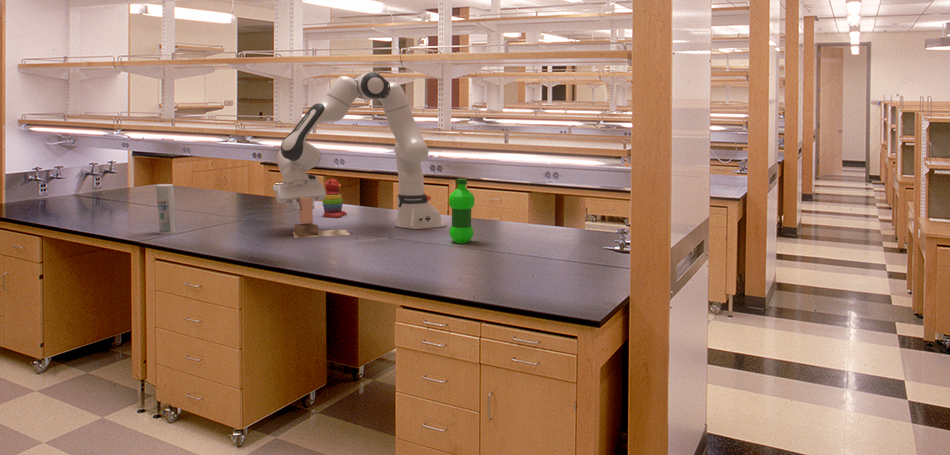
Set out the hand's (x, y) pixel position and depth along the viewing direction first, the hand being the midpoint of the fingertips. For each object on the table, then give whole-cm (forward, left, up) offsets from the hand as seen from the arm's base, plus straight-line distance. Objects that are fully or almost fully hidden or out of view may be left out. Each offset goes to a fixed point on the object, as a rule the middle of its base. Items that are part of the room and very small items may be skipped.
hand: (306, 208), depth 283 cm
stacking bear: (-17, -51, -12) cm, 55 cm away
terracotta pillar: (0, -1, -6) cm, 6 cm away
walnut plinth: (0, -1, -11) cm, 11 cm away
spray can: (+54, -26, -12) cm, 61 cm away
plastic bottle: (-58, +24, -12) cm, 64 cm away
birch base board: (-6, -2, -12) cm, 13 cm away
